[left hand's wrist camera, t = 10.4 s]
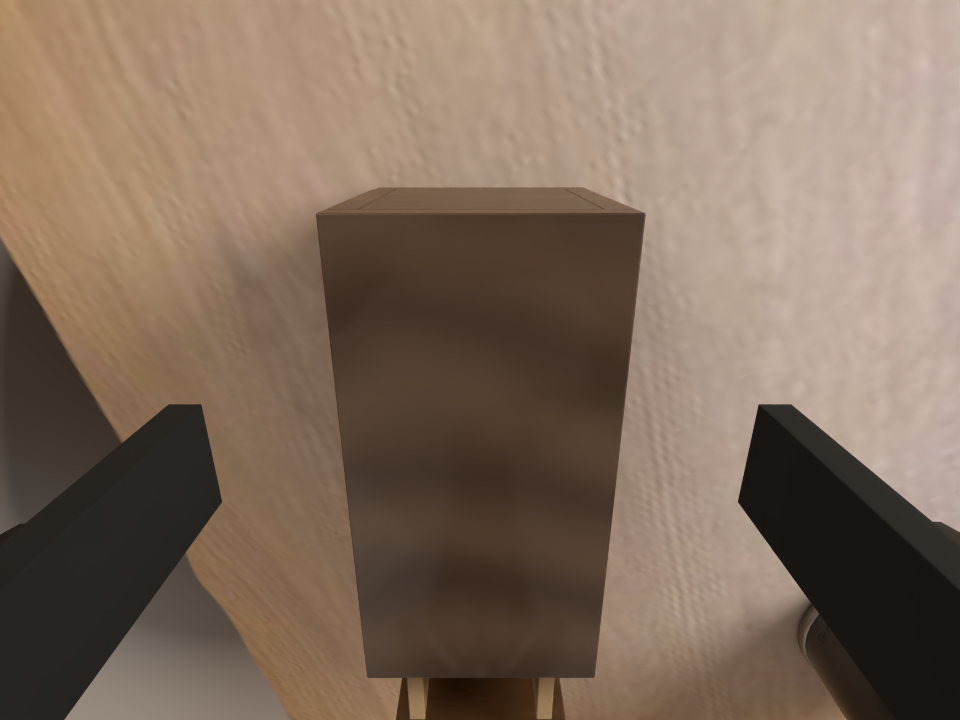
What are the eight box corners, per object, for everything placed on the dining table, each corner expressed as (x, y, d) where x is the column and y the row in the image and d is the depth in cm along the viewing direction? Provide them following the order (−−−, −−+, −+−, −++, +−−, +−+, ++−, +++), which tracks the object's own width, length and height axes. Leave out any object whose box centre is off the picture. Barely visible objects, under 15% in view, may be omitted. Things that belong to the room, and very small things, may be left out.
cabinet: (561, 522, 35) (594, 678, 25) (399, 522, 35) (366, 678, 25) (584, 187, 27) (646, 212, 17) (377, 187, 27) (315, 213, 17)
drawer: (544, 684, 39) (562, 829, 31) (416, 684, 39) (399, 829, 31) (565, 359, 30) (598, 442, 21) (396, 359, 30) (363, 442, 21)
